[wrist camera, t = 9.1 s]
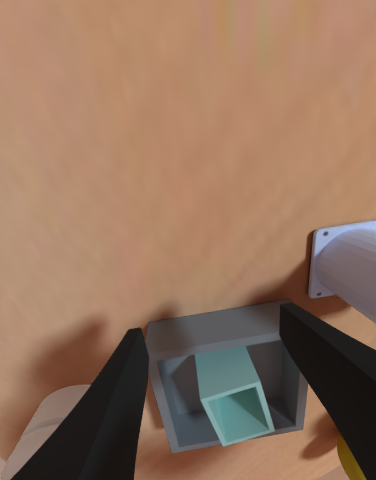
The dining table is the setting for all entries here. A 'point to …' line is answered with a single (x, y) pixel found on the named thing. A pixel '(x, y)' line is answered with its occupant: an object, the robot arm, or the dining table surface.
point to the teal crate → (232, 395)
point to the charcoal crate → (214, 339)
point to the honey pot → (43, 426)
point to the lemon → (349, 461)
